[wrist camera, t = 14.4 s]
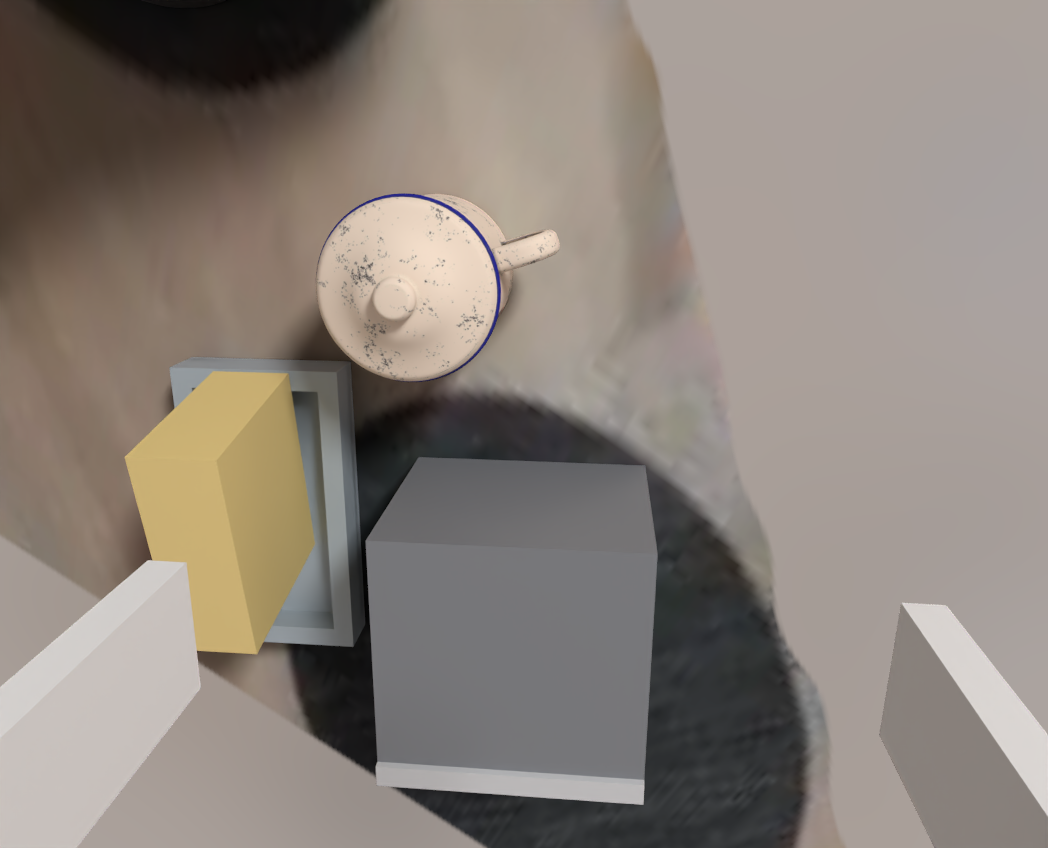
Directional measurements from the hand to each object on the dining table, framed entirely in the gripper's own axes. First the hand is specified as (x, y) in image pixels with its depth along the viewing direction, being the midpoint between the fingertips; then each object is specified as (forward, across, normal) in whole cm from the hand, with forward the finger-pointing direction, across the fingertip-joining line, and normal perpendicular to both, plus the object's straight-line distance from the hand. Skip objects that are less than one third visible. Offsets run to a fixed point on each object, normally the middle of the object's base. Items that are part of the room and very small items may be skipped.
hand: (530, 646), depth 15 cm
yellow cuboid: (+33, -19, -9) cm, 39 cm away
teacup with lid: (+35, -7, +3) cm, 36 cm away
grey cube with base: (+35, -3, -16) cm, 38 cm away
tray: (+35, -19, -12) cm, 41 cm away
